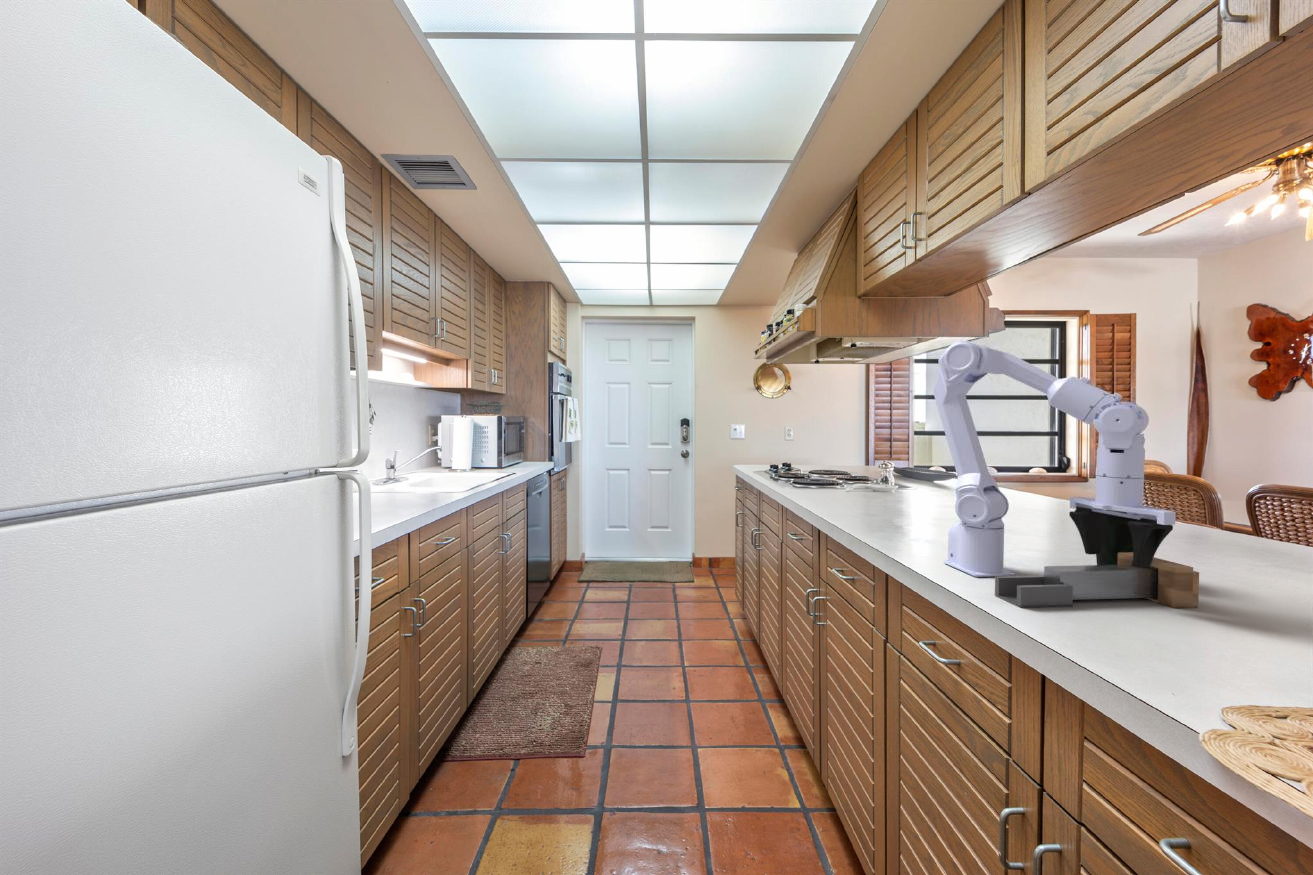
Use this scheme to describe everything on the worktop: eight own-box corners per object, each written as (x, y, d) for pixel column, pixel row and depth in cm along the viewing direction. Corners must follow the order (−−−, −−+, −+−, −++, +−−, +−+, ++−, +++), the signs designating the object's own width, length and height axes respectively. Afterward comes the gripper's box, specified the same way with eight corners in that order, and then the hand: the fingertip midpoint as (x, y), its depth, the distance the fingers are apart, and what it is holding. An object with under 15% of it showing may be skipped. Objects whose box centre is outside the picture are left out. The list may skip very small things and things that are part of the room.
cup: (1158, 586, 88) (1160, 518, 87) (1107, 583, 89) (1109, 516, 89) (1127, 573, 95) (1129, 510, 95) (1080, 570, 97) (1082, 509, 96)
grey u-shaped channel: (994, 595, 83) (995, 576, 83) (1043, 594, 84) (1043, 575, 83) (1020, 607, 78) (1021, 587, 78) (1072, 606, 78) (1072, 585, 78)
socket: (1116, 588, 86) (1117, 552, 86) (1138, 588, 87) (1139, 552, 87) (1174, 608, 77) (1175, 567, 77) (1198, 607, 78) (1199, 567, 78)
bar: (1043, 593, 82) (1044, 565, 82) (1145, 591, 84) (1146, 563, 83) (1059, 600, 79) (1060, 571, 79) (1165, 597, 81) (1166, 569, 80)
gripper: (1055, 472, 88) (1053, 549, 88) (1148, 482, 73) (1145, 574, 74) (1090, 471, 89) (1087, 548, 89) (1188, 482, 74) (1184, 572, 75)
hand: (1116, 560), depth 81 cm, fingers open, 7 cm apart
